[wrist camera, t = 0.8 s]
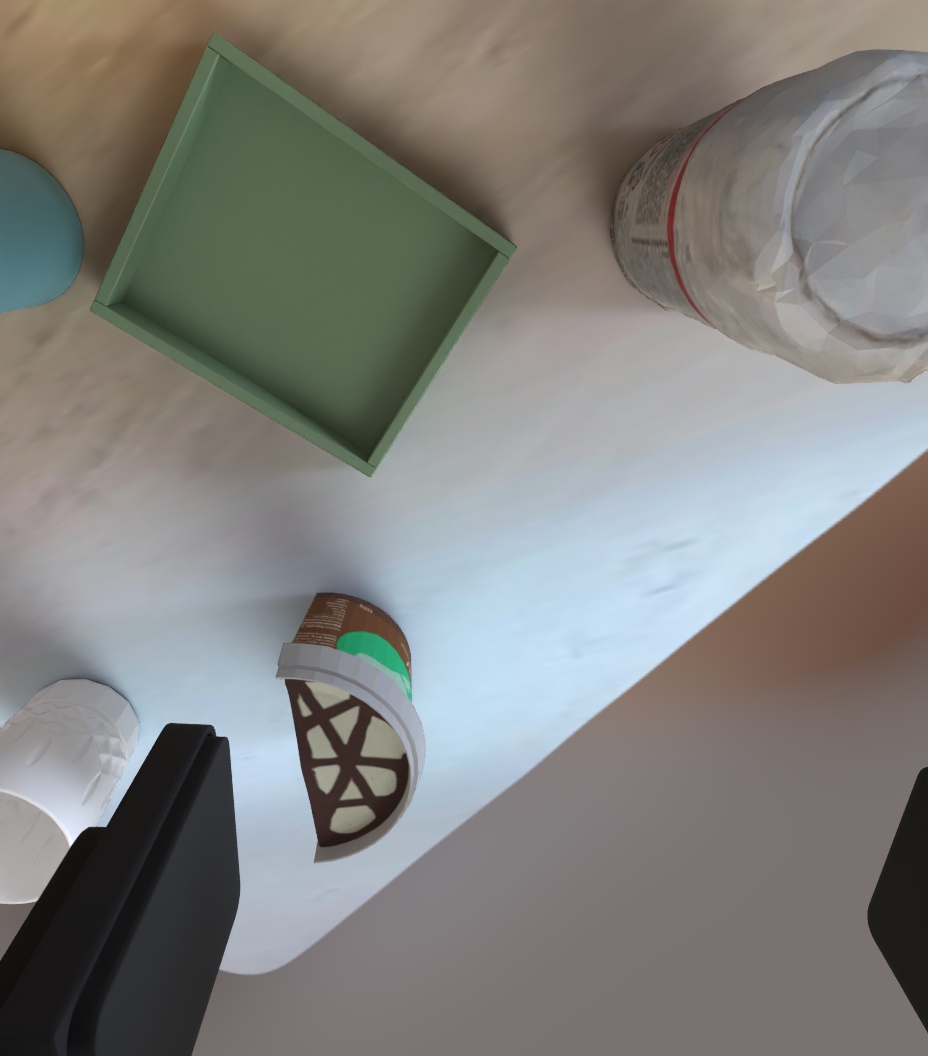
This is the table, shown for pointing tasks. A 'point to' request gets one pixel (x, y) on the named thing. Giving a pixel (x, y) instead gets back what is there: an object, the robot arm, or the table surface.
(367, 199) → the tray
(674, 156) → the spray can
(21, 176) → the bottle
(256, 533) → the table surface
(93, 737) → the white cup
